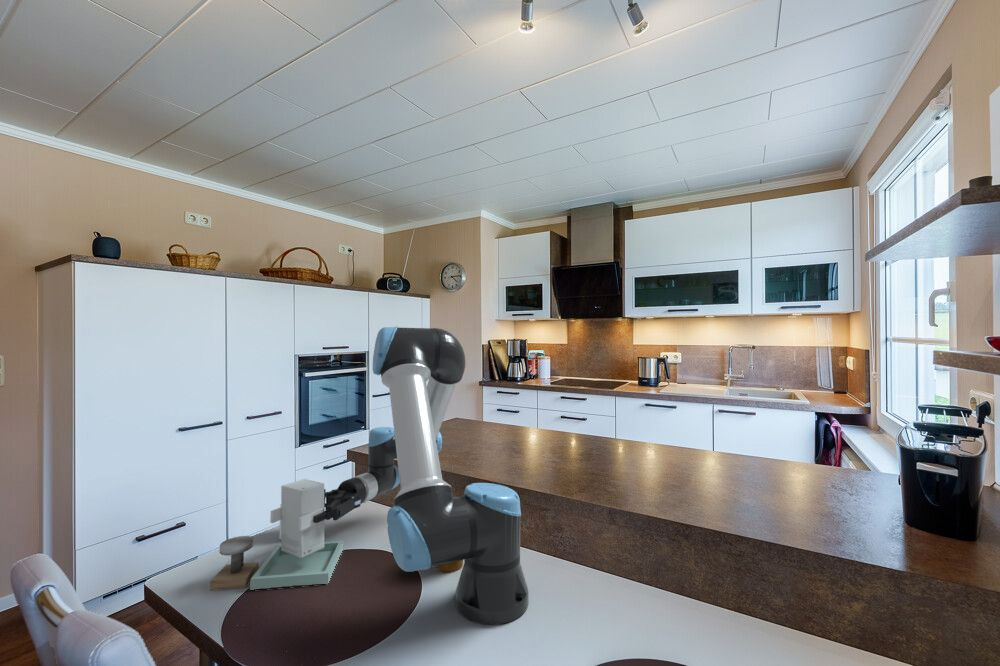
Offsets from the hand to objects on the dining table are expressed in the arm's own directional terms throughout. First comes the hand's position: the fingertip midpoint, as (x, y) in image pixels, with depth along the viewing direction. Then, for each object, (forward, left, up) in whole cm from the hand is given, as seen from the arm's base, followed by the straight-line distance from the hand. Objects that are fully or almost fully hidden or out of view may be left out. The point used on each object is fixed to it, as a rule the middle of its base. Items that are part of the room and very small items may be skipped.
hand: (285, 520), depth 94 cm
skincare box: (+4, -3, -9) cm, 10 cm away
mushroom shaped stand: (+1, +10, -13) cm, 16 cm away
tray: (+4, -3, -13) cm, 14 cm away
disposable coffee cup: (0, -38, -13) cm, 40 cm away
